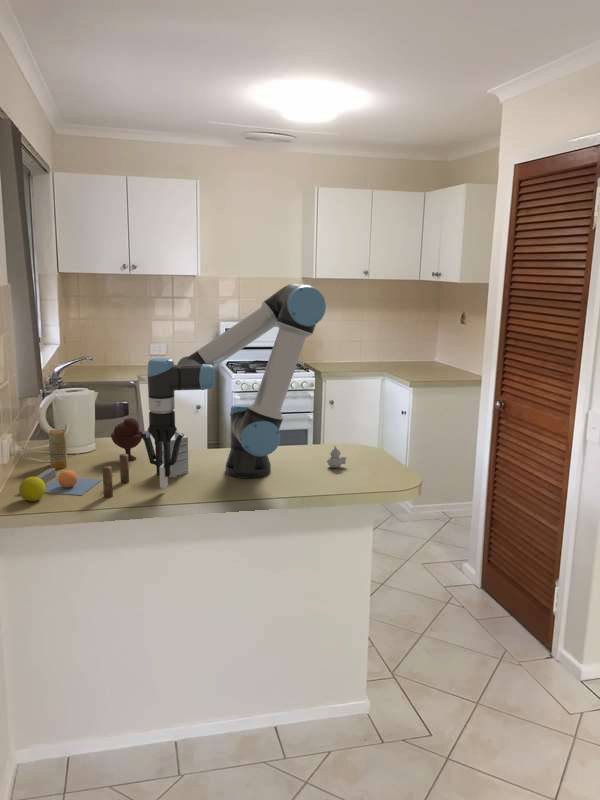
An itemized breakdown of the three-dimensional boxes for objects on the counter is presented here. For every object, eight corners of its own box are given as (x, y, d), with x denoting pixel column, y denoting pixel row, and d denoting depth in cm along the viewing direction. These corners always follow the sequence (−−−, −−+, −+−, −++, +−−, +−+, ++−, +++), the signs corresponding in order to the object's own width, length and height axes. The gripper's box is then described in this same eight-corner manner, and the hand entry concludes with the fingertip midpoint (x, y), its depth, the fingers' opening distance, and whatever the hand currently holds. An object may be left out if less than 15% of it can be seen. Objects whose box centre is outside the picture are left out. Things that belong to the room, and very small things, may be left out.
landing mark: (101, 480, 208) (101, 479, 208) (81, 495, 194) (81, 494, 194) (60, 477, 210) (60, 476, 210) (37, 492, 196) (37, 491, 196)
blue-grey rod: (55, 476, 211) (55, 468, 210) (29, 493, 195) (28, 485, 195) (50, 475, 211) (49, 468, 211) (23, 492, 196) (22, 484, 195)
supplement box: (157, 472, 216) (156, 436, 213) (175, 468, 221) (174, 432, 219) (170, 478, 211) (169, 440, 208) (189, 473, 216) (188, 436, 214)
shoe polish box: (67, 463, 224) (65, 429, 221) (66, 467, 219) (64, 433, 217) (52, 464, 223) (49, 430, 220) (50, 468, 218) (48, 434, 215)
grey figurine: (325, 465, 227) (326, 443, 226) (344, 464, 228) (345, 442, 226) (328, 470, 222) (329, 447, 220) (347, 469, 223) (348, 447, 221)
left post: (114, 495, 195) (113, 466, 193) (110, 498, 193) (109, 469, 191) (106, 494, 195) (104, 465, 194) (102, 497, 193) (101, 468, 191)
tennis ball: (42, 504, 187) (40, 481, 185) (16, 504, 186) (14, 481, 185) (49, 495, 194) (47, 473, 192) (24, 496, 193) (23, 473, 192)
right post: (130, 481, 207) (129, 454, 205) (127, 483, 205) (126, 456, 203) (122, 480, 208) (121, 453, 206) (119, 483, 205) (118, 456, 203)
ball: (73, 488, 204) (83, 475, 202) (65, 493, 198) (75, 481, 197) (60, 476, 203) (70, 464, 202) (51, 482, 198) (61, 469, 197)
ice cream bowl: (134, 453, 237) (132, 413, 234) (149, 460, 229) (148, 418, 226) (106, 458, 230) (104, 417, 226) (122, 466, 222) (120, 423, 218)
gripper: (135, 412, 190) (138, 489, 195) (179, 414, 188) (180, 491, 193) (145, 406, 197) (147, 480, 202) (186, 408, 196) (188, 483, 201)
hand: (163, 486), depth 198 cm, fingers closed
